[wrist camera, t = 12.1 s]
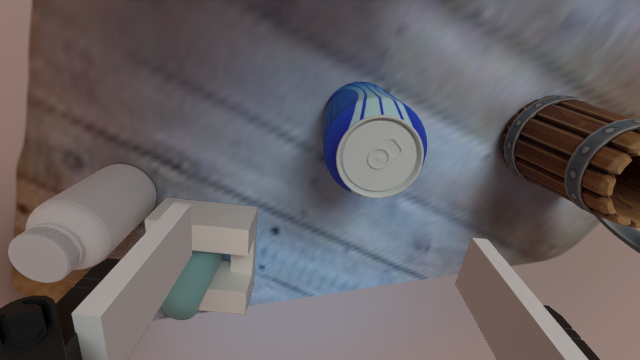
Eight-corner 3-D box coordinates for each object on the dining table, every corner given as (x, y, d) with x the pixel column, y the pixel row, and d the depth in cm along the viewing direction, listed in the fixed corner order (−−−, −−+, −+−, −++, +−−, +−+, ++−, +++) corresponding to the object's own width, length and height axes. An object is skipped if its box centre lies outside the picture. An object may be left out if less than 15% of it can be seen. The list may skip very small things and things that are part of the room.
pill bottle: (119, 225, 45) (30, 304, 31) (84, 174, 42) (-31, 236, 29) (170, 207, 44) (101, 280, 30) (137, 153, 41) (45, 207, 28)
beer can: (390, 150, 41) (429, 209, 26) (322, 150, 41) (323, 209, 26) (395, 80, 38) (443, 102, 23) (322, 80, 38) (323, 102, 23)
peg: (198, 229, 45) (158, 288, 34) (227, 232, 46) (197, 292, 35) (198, 253, 47) (160, 318, 36) (227, 256, 47) (197, 321, 36)
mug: (484, 125, 40) (572, 167, 26) (571, 75, 38) (717, 92, 24) (530, 220, 45) (624, 298, 31) (609, 180, 43) (749, 245, 29)
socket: (167, 197, 44) (144, 219, 38) (257, 207, 44) (248, 230, 39) (171, 276, 48) (152, 306, 43) (253, 284, 49) (245, 314, 43)
